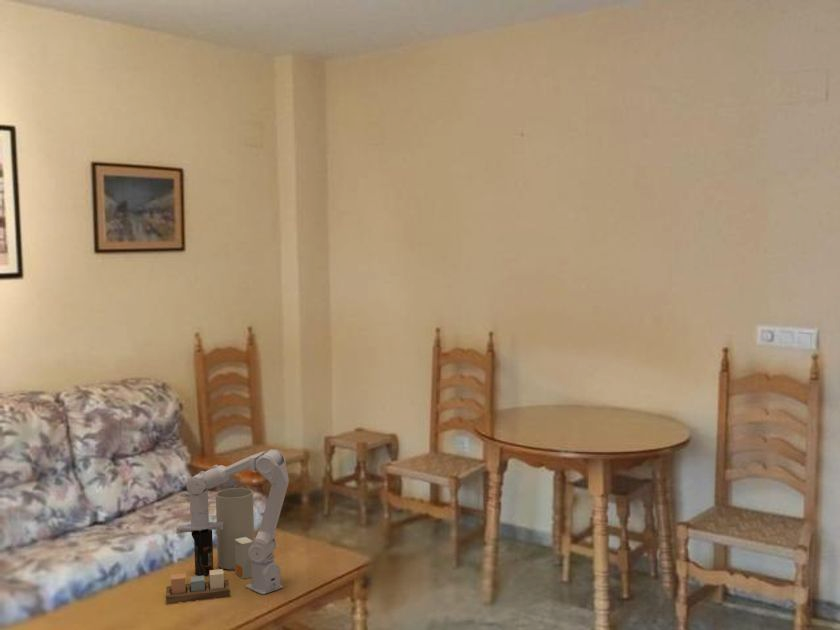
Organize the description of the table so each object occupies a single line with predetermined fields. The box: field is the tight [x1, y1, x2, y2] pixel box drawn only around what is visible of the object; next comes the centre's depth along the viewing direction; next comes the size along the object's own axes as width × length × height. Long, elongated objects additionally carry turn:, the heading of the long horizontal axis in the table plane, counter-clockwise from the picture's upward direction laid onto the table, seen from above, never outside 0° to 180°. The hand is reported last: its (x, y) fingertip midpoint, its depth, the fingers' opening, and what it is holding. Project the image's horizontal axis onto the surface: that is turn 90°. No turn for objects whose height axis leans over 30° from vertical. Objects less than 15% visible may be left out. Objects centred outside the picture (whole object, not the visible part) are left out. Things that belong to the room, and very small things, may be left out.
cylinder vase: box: [215, 487, 255, 571], centre depth 285 cm, size 12×12×25 cm
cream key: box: [208, 568, 225, 590], centre depth 260 cm, size 4×4×5 cm
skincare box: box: [234, 537, 253, 580], centre depth 274 cm, size 6×4×12 cm
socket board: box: [165, 579, 231, 605], centre depth 259 cm, size 9×19×2 cm, turn 106°
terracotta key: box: [170, 573, 187, 594], centre depth 257 cm, size 4×4×5 cm
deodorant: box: [193, 530, 214, 577], centre depth 277 cm, size 6×6×15 cm
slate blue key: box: [190, 575, 206, 592], centre depth 258 cm, size 4×4×5 cm
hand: (200, 552), depth 267 cm, fingers closed
